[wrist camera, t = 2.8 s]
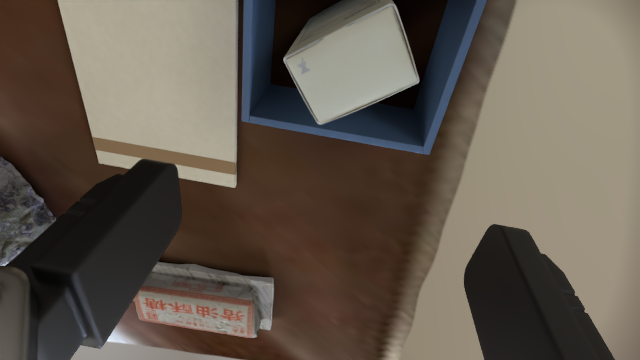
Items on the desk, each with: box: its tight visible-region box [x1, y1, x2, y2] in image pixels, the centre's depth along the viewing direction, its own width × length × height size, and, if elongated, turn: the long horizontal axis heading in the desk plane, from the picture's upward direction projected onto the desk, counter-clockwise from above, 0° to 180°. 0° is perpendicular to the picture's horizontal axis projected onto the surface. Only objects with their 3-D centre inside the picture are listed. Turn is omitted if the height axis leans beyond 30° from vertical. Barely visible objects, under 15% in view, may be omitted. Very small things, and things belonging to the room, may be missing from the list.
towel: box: [58, 0, 238, 188], centre depth 32 cm, size 15×22×1 cm
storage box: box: [242, 0, 487, 155], centre depth 25 cm, size 14×13×7 cm
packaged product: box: [133, 262, 274, 338], centre depth 47 cm, size 18×5×10 cm
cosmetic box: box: [283, 0, 419, 125], centre depth 23 cm, size 6×4×12 cm
